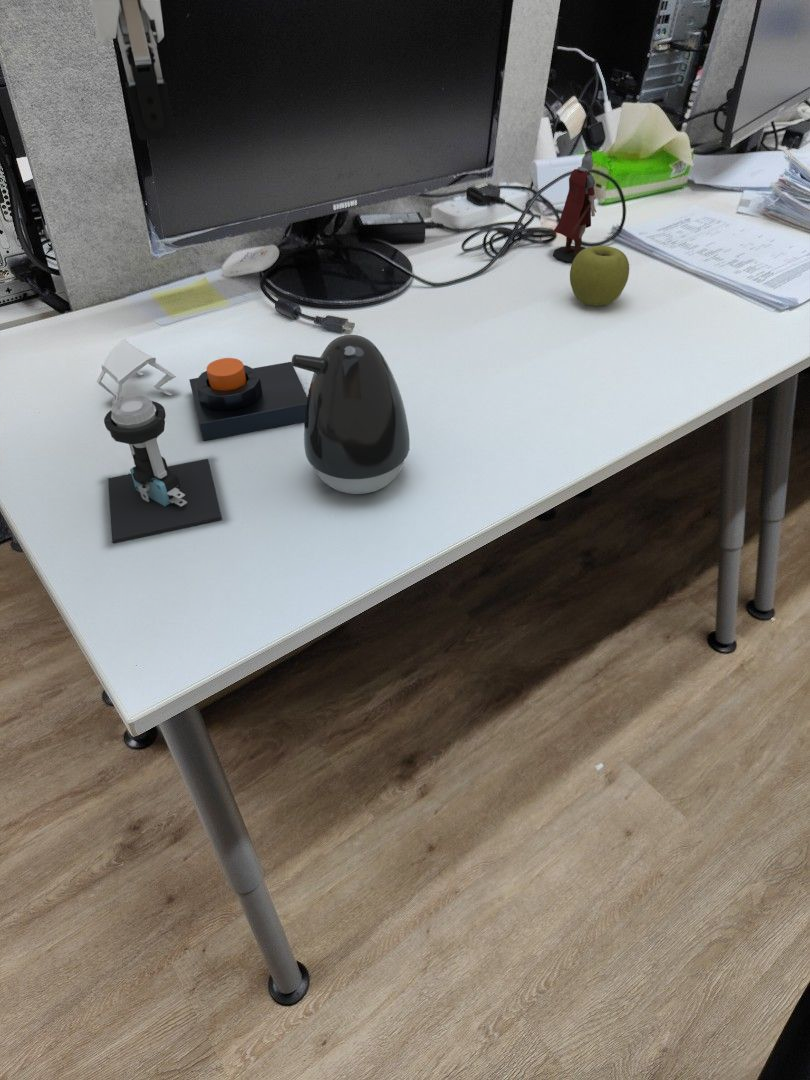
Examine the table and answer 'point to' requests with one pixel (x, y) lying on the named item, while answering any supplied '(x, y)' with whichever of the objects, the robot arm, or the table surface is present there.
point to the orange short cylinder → (226, 374)
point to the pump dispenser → (354, 417)
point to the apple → (599, 275)
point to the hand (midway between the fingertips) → (156, 135)
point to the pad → (152, 517)
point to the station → (250, 402)
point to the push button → (145, 447)
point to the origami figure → (129, 367)
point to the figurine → (577, 210)
